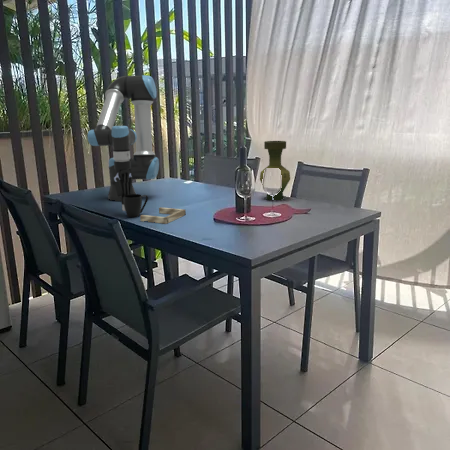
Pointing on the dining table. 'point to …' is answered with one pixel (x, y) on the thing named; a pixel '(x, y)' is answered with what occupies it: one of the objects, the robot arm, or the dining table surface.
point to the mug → (134, 204)
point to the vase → (276, 164)
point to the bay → (174, 215)
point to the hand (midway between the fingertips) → (125, 210)
